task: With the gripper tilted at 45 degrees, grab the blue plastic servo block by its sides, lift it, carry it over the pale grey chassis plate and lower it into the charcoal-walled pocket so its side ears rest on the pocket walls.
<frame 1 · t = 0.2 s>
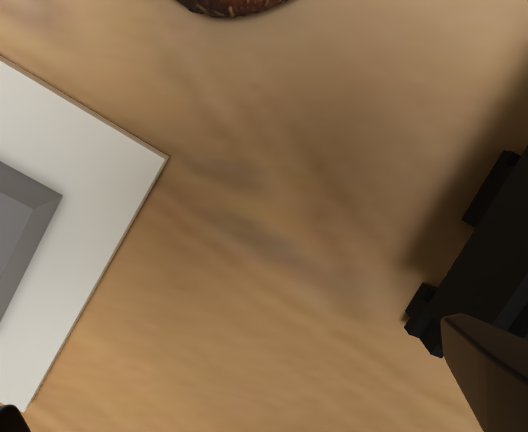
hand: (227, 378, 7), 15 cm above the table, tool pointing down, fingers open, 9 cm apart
security camera: (488, 203, 22), on the table
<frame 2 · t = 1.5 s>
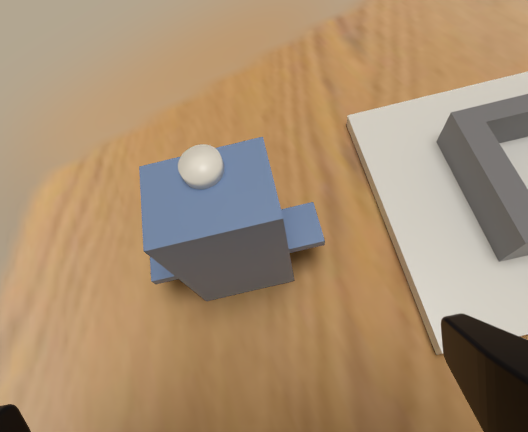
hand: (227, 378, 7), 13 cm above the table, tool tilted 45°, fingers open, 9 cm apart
servo: (244, 260, 23), on the table
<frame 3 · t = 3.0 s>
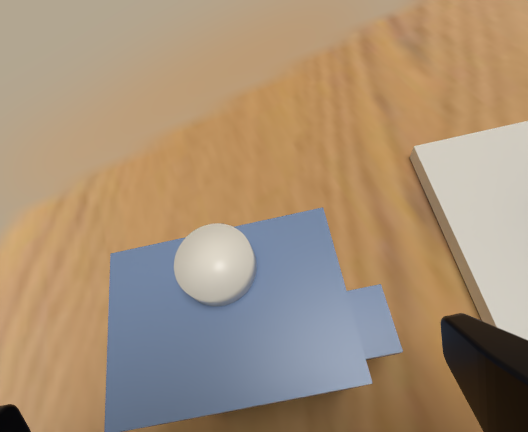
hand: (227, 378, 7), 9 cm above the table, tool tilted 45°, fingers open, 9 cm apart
servo: (272, 352, 16), on the table
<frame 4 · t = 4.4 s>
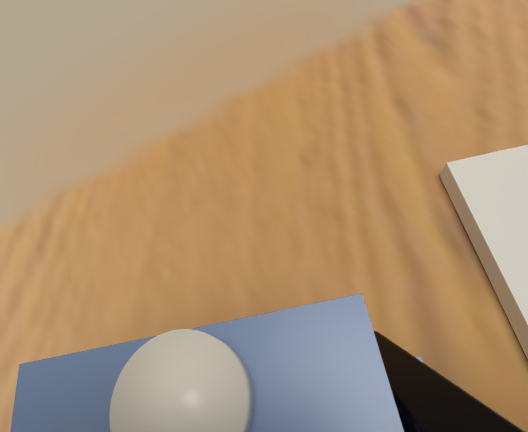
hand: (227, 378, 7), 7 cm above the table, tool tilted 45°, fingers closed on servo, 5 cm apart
servo: (275, 427, 13), on the table, touching gripper
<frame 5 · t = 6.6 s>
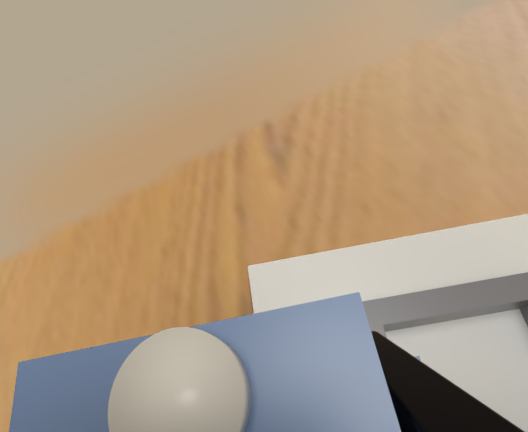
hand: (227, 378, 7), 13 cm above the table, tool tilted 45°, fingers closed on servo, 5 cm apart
chassis: (461, 384, 18), on the table
servo: (274, 426, 13), point 7 cm above the table, touching gripper
when the fingers open (9 cm above the table, at t = 8.9 s): servo stays where it is, resting on chassis.
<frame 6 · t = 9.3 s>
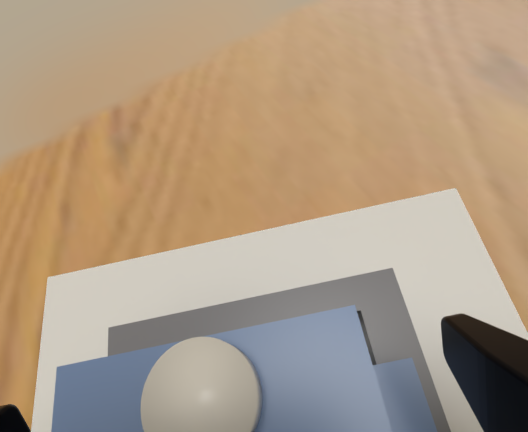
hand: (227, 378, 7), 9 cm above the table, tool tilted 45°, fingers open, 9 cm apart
chassis: (280, 422, 14), on the table
servo: (277, 423, 13), point 1 cm above the table, touching chassis
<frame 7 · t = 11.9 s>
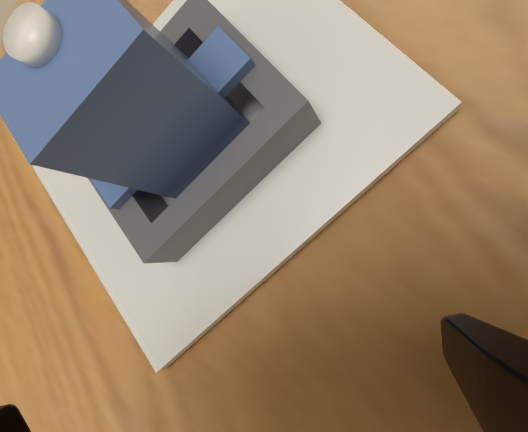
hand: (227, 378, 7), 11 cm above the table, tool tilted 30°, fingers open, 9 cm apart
chassis: (208, 146, 21), on the table
servo: (199, 141, 20), point 1 cm above the table, touching chassis
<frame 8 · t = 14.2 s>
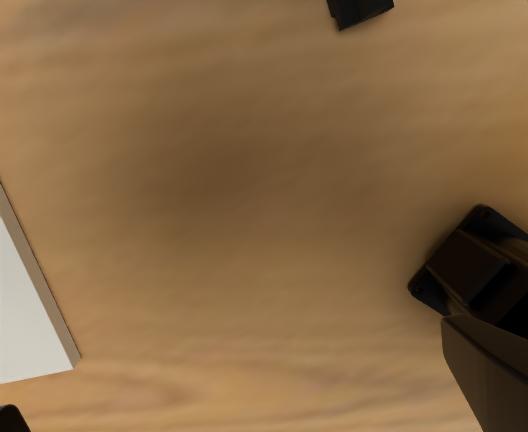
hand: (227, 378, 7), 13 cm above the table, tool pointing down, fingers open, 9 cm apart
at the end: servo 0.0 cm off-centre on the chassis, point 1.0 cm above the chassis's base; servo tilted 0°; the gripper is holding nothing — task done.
